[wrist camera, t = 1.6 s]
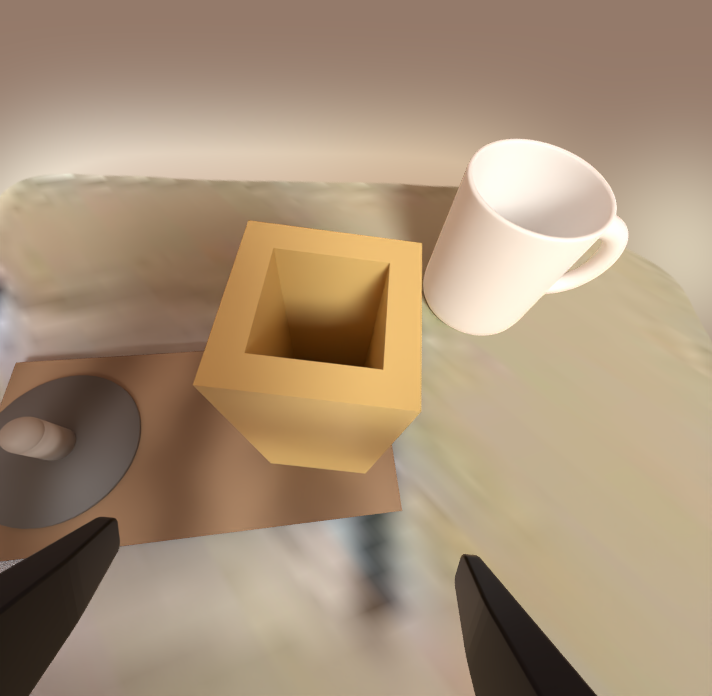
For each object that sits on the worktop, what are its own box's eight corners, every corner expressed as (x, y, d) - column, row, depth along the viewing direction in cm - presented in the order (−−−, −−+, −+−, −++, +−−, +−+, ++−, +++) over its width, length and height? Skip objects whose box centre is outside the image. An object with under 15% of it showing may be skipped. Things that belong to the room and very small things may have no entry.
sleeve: (365, 473, 20) (421, 411, 8) (270, 463, 20) (192, 384, 8) (372, 385, 22) (421, 243, 11) (288, 375, 22) (248, 220, 11)
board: (373, 345, 25) (383, 313, 21) (399, 510, 20) (417, 509, 16) (22, 368, 22) (-44, 335, 18) (-49, 567, 17) (-160, 582, 13)
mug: (554, 267, 30) (656, 155, 21) (573, 350, 26) (709, 259, 17) (420, 251, 29) (463, 129, 20) (420, 333, 26) (473, 229, 16)
